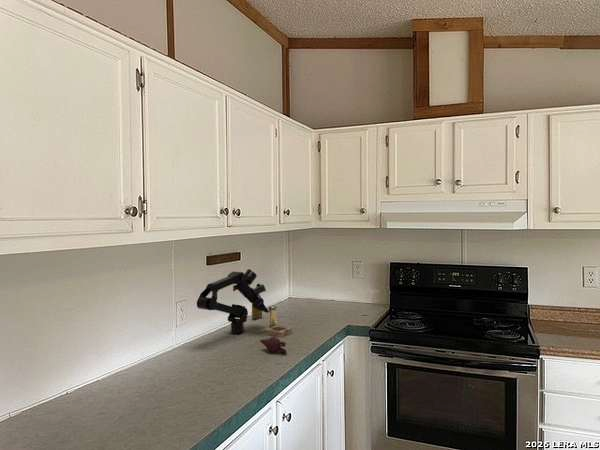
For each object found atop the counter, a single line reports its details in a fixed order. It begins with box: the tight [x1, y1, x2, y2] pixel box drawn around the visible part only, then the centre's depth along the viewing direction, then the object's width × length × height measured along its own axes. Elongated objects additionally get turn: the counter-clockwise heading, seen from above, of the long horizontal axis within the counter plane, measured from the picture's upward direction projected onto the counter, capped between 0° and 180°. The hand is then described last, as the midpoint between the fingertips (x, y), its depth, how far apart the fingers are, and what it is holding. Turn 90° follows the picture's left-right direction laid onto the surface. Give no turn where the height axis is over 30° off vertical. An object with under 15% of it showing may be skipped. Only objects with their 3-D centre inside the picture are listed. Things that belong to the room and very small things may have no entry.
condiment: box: [248, 305, 263, 321], centre depth 252 cm, size 7×8×12 cm
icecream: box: [259, 336, 287, 355], centre depth 191 cm, size 7×7×15 cm
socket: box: [264, 325, 293, 338], centre depth 219 cm, size 10×10×3 cm
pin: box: [268, 305, 278, 328], centre depth 228 cm, size 4×4×12 cm
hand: (266, 310), depth 228 cm, fingers open, 9 cm apart
